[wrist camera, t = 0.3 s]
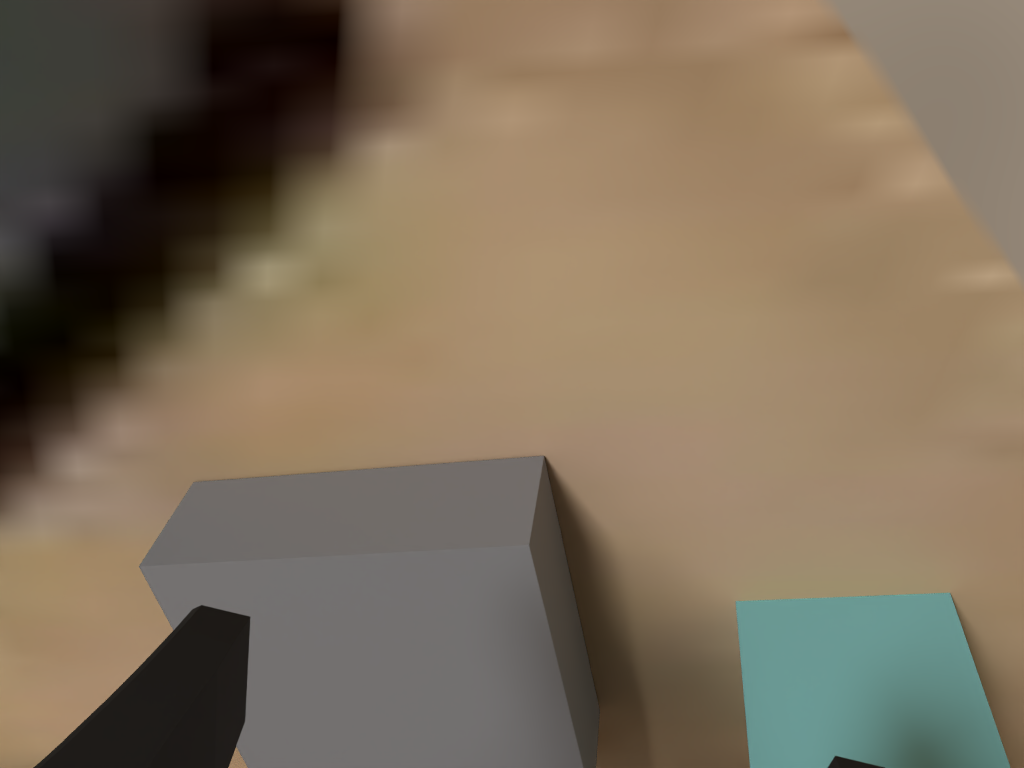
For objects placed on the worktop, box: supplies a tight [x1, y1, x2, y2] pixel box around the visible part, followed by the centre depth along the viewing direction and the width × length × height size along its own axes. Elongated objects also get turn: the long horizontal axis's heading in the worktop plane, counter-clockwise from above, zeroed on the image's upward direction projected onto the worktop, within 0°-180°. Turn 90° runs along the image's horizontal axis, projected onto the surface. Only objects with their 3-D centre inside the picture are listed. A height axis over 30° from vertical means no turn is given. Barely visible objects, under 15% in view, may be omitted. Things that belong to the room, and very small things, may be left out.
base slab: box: [139, 456, 600, 768], centre depth 24 cm, size 9×9×3 cm
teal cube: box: [736, 593, 1010, 768], centre depth 22 cm, size 5×5×5 cm
